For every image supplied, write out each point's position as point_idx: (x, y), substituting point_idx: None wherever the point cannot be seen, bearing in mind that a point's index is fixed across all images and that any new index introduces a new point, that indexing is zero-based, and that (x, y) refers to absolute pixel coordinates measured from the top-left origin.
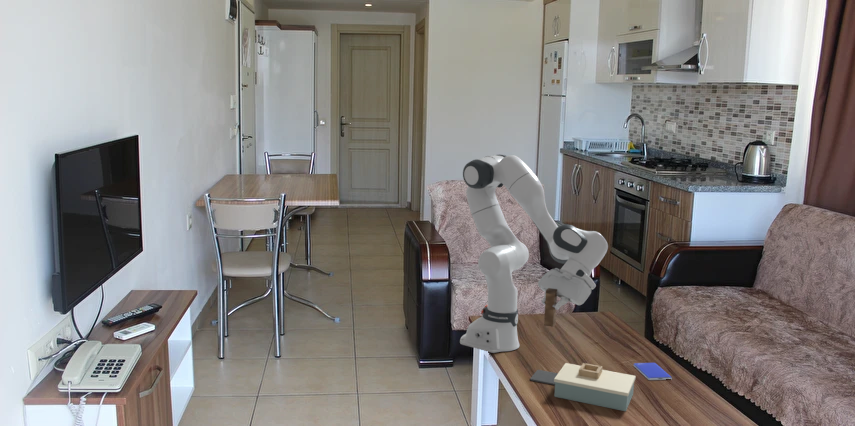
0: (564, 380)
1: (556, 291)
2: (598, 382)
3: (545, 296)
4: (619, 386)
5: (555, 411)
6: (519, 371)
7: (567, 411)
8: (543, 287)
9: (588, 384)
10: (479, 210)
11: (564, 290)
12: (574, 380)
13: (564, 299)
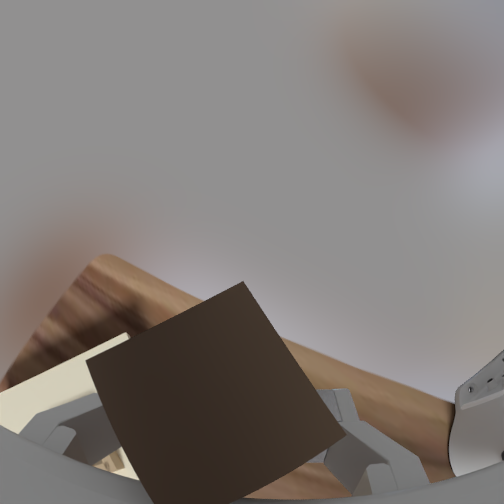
0: (100, 346)
1: (145, 470)
2: (40, 409)
3: (355, 431)
4: (4, 425)
5: (96, 294)
6: (324, 387)
7: (79, 315)
8: (496, 463)
9: (48, 376)
10: None
11: (3, 492)
12: (83, 370)
13: (32, 431)
